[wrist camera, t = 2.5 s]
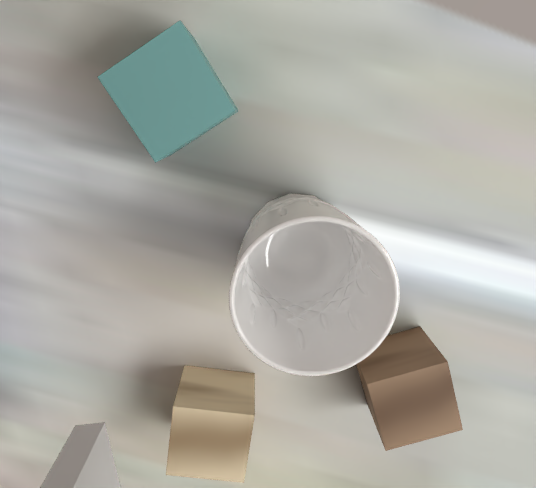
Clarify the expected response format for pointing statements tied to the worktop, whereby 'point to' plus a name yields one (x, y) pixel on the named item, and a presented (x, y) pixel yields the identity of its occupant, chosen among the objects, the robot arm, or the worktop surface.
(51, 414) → the worktop surface
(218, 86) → the teal painted block
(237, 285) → the white cup
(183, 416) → the maple block
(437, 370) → the walnut block
